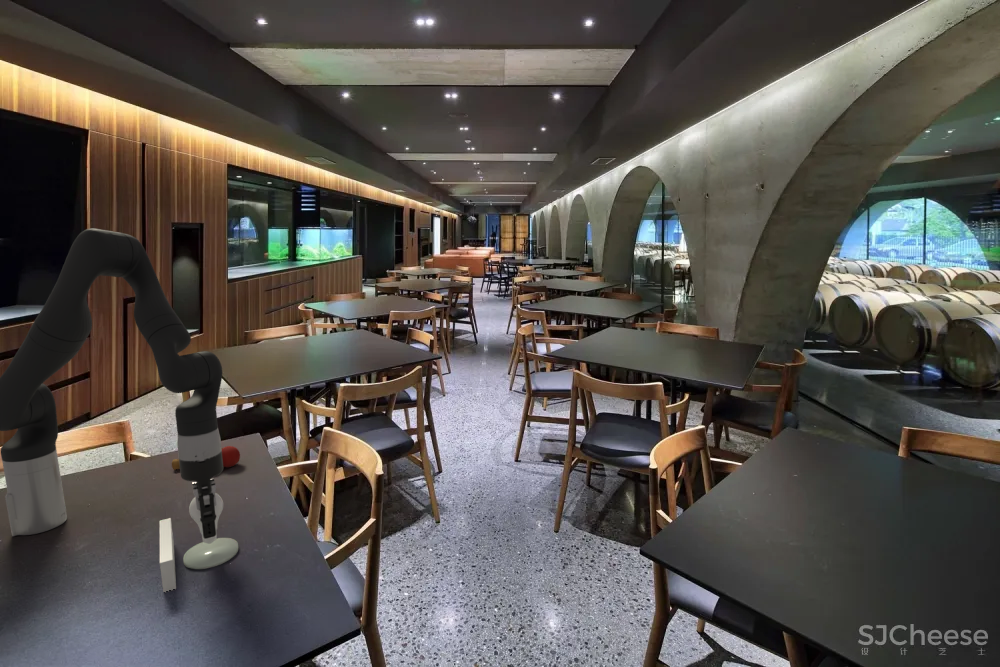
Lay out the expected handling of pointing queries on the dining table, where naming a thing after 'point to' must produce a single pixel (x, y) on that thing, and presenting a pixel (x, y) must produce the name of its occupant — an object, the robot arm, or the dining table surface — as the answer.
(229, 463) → the kendama
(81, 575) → the dining table surface
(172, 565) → the wall
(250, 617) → the dining table surface
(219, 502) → the lightbulb
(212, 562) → the pad
